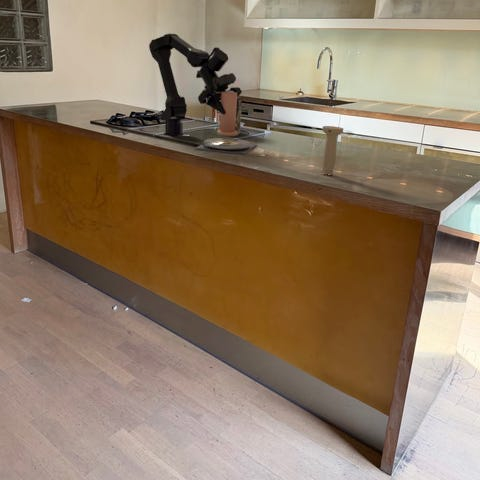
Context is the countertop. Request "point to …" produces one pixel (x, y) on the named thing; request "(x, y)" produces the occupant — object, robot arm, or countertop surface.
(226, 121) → the pink tall cylinder
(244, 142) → the turntable disk
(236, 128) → the coffee box
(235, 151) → the base
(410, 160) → the countertop surface
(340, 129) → the handle
